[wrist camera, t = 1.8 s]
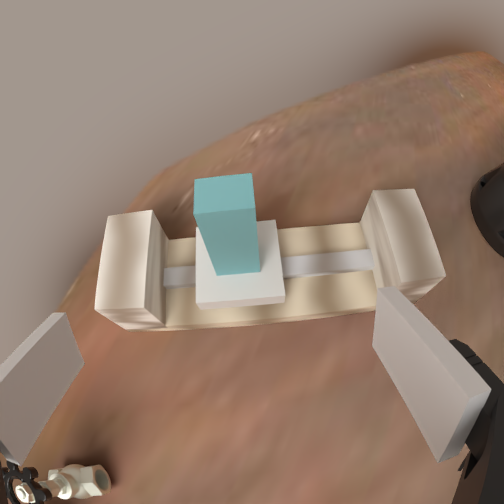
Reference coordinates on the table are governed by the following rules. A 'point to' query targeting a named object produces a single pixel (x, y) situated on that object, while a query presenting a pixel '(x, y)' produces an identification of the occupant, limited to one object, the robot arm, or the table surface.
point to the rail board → (293, 268)
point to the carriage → (234, 246)
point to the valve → (56, 483)
